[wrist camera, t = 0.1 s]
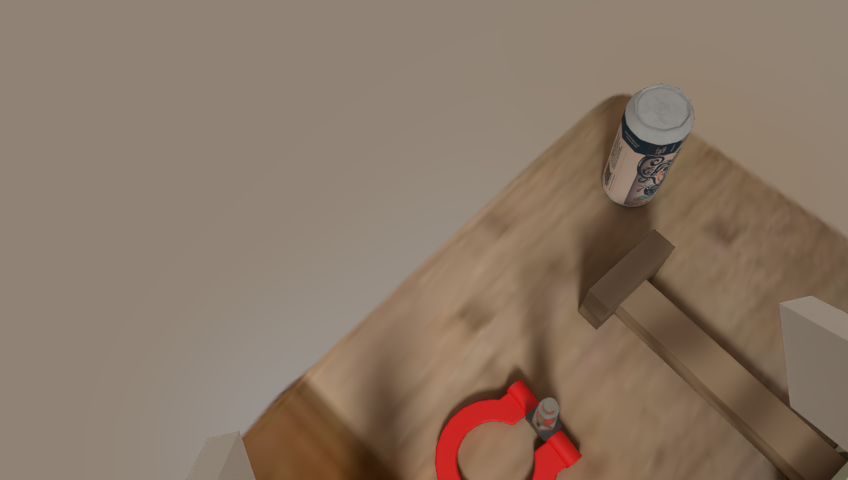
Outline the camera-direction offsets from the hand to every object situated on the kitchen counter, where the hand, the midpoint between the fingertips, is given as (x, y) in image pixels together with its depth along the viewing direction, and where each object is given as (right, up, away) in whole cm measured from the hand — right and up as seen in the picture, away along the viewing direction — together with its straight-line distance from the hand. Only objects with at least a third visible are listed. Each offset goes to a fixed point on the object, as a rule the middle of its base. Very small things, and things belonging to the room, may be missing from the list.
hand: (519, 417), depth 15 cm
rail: (+22, -9, +33) cm, 41 cm away
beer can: (+16, +9, +41) cm, 45 cm away
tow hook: (+4, -12, +34) cm, 36 cm away
